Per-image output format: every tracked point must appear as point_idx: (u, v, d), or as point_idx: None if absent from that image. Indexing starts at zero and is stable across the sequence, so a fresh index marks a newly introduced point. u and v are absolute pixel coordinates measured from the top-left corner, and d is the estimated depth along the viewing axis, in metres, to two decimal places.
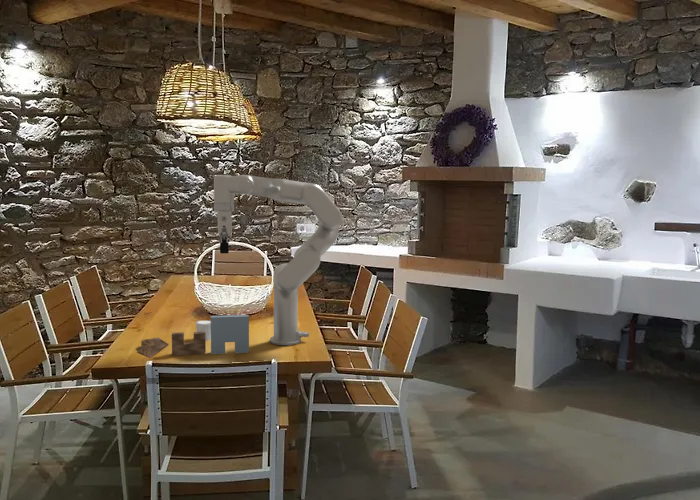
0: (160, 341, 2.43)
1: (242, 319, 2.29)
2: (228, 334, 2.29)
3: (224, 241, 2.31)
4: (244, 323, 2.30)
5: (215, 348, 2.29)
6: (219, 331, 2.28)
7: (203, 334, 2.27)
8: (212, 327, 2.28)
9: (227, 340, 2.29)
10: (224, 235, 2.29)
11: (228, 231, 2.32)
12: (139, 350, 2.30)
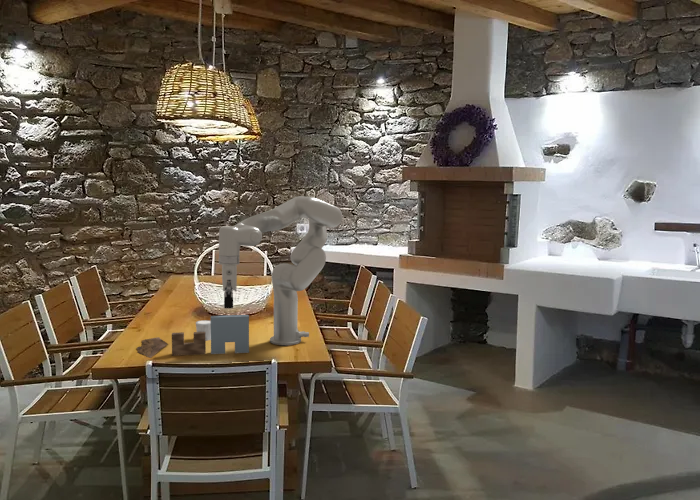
0: (160, 341, 2.43)
1: (242, 319, 2.29)
2: (228, 334, 2.29)
3: (229, 296, 2.22)
4: (244, 323, 2.30)
5: (215, 348, 2.29)
6: (219, 331, 2.28)
7: (203, 334, 2.27)
8: (212, 327, 2.28)
9: (227, 340, 2.29)
10: (229, 290, 2.20)
11: (233, 285, 2.23)
12: (139, 350, 2.30)
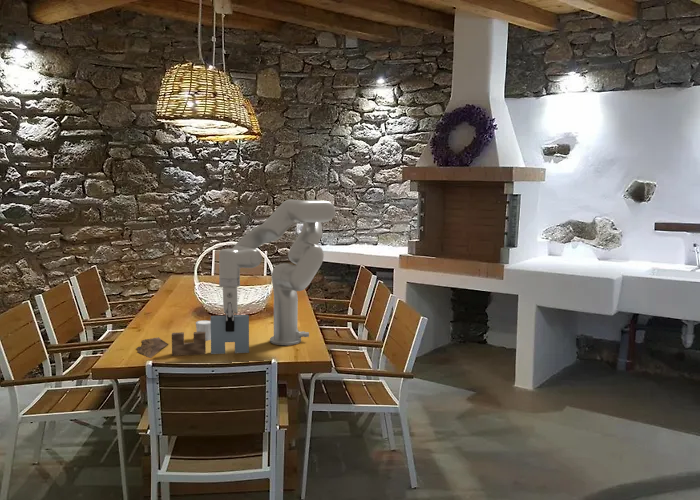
0: (160, 341, 2.43)
1: (242, 319, 2.29)
2: (228, 334, 2.29)
3: (230, 320, 2.27)
4: (244, 323, 2.30)
5: (215, 348, 2.29)
6: (219, 331, 2.28)
7: (203, 334, 2.27)
8: (212, 327, 2.28)
9: (227, 340, 2.29)
10: (230, 317, 2.24)
11: (234, 308, 2.24)
12: (139, 350, 2.30)
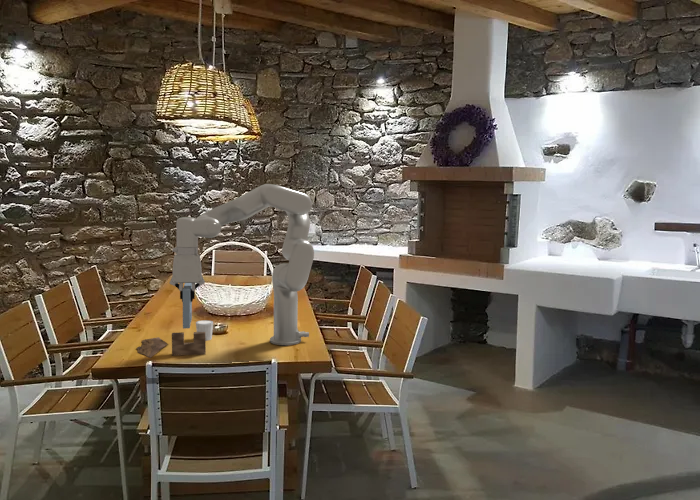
0: (160, 341, 2.43)
1: None
2: None
3: (178, 288, 2.24)
4: None
5: None
6: None
7: (203, 334, 2.27)
8: None
9: None
10: None
11: None
12: (139, 350, 2.30)
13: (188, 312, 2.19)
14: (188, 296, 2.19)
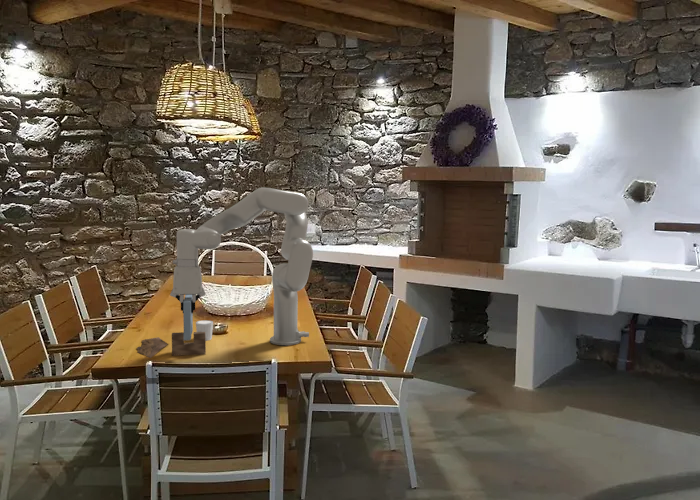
0: (160, 341, 2.43)
1: None
2: None
3: None
4: None
5: None
6: None
7: (203, 334, 2.27)
8: None
9: None
10: None
11: (173, 287, 2.23)
12: (139, 350, 2.30)
13: (189, 324, 2.20)
14: (189, 308, 2.19)
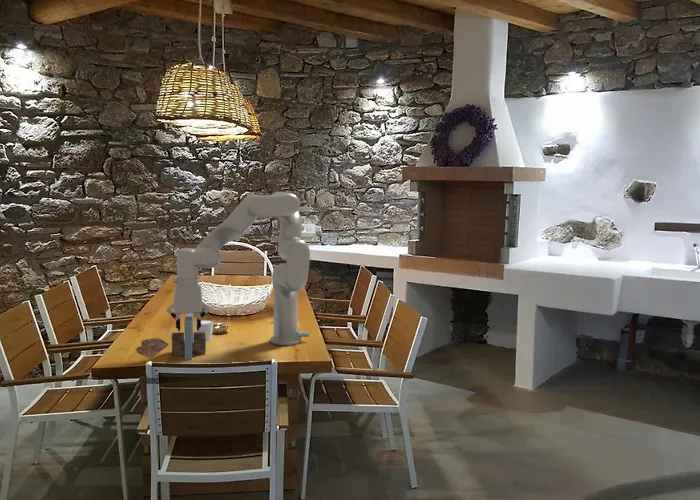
0: (160, 341, 2.43)
1: None
2: None
3: None
4: None
5: None
6: None
7: (203, 334, 2.27)
8: None
9: None
10: None
11: (173, 306, 2.24)
12: (139, 350, 2.30)
13: (190, 343, 2.21)
14: (190, 328, 2.20)
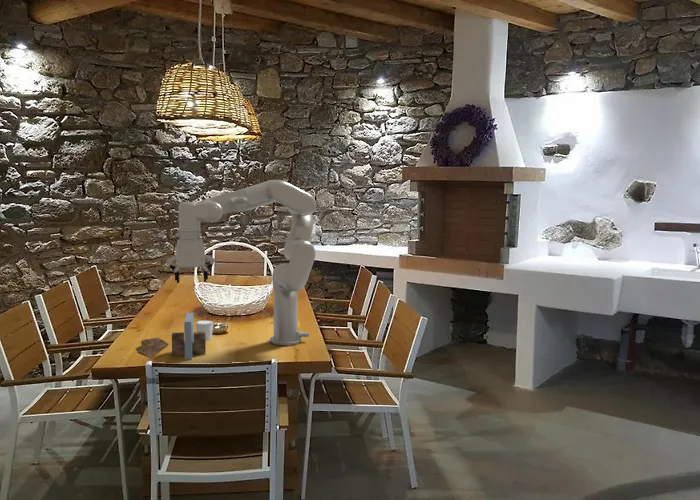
0: (160, 341, 2.43)
1: None
2: None
3: (172, 269, 2.24)
4: None
5: None
6: None
7: (203, 334, 2.27)
8: None
9: None
10: (167, 263, 2.24)
11: (176, 260, 2.23)
12: (139, 350, 2.30)
13: (190, 343, 2.21)
14: (190, 328, 2.20)
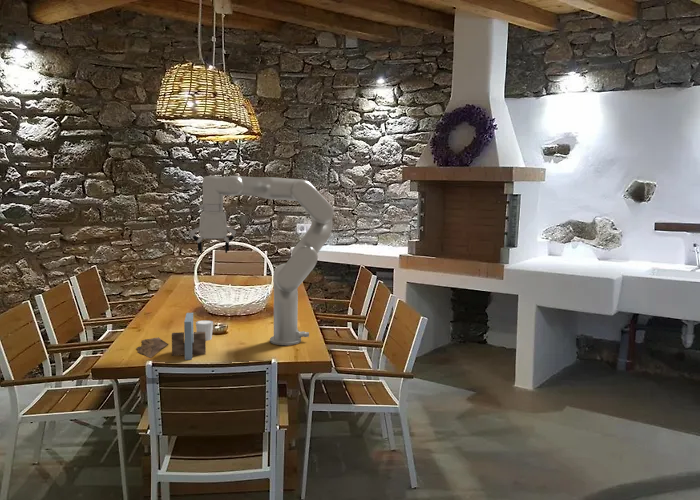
0: (160, 341, 2.43)
1: None
2: None
3: (195, 240, 2.35)
4: None
5: None
6: None
7: (203, 334, 2.27)
8: None
9: None
10: (191, 234, 2.34)
11: None
12: (139, 350, 2.30)
13: (190, 343, 2.21)
14: (190, 328, 2.20)
